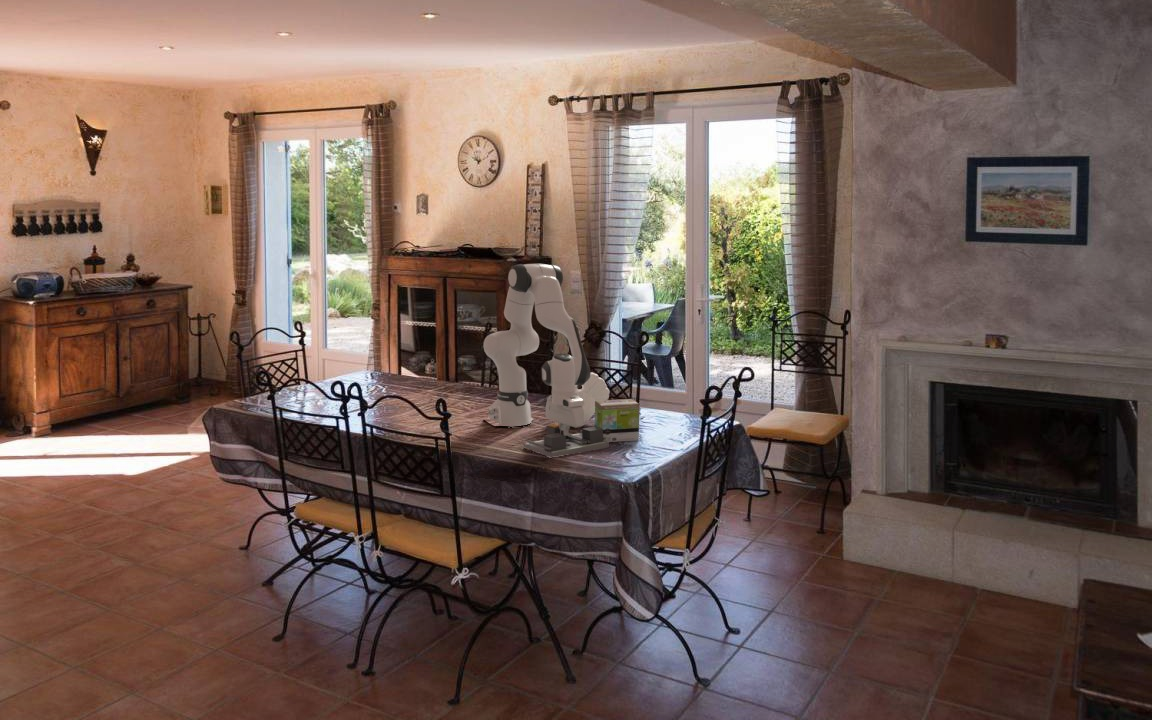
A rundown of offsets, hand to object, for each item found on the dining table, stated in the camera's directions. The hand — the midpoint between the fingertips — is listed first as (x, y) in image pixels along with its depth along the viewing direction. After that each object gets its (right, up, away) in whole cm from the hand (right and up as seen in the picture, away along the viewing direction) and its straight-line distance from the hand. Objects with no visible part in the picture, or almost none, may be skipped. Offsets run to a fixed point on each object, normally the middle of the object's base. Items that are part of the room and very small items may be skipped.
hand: (564, 434), depth 370 cm
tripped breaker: (-3, -2, +4) cm, 5 cm away
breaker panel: (+1, -5, 0) cm, 5 cm away
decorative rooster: (+6, +1, +37) cm, 37 cm away
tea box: (+20, -3, +12) cm, 24 cm away
